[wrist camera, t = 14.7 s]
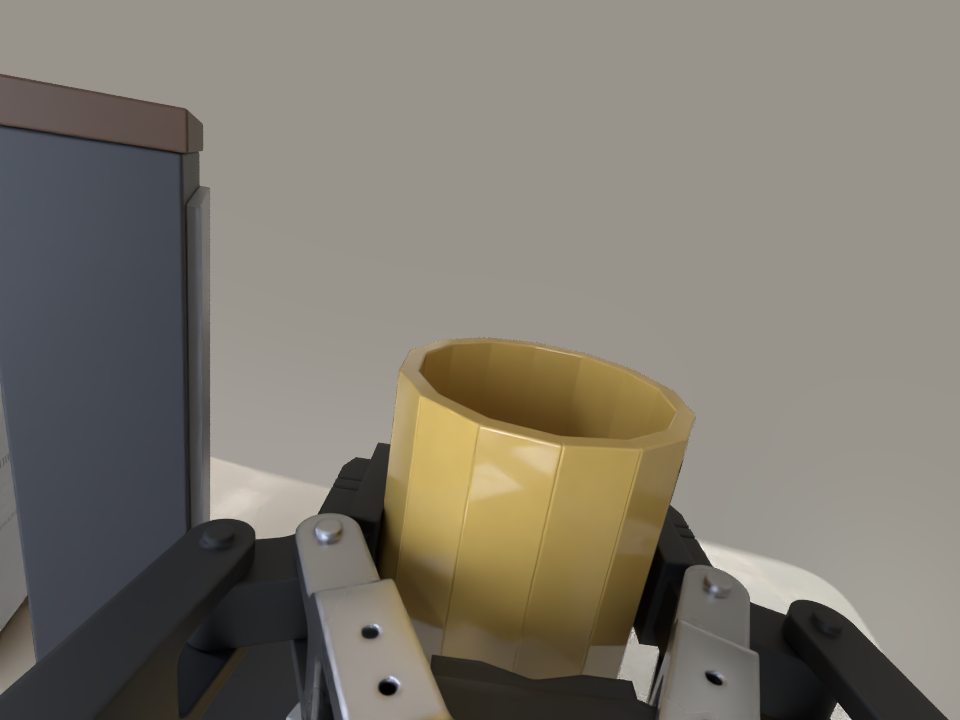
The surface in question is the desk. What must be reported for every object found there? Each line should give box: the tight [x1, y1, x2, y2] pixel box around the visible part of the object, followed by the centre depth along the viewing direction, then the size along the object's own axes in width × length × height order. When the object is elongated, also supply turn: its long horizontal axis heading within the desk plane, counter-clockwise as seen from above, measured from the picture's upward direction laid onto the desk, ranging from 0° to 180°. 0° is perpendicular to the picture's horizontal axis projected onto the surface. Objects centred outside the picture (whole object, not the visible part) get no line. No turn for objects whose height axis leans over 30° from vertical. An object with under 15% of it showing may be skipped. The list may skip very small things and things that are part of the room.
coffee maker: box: [0, 74, 301, 720], centre depth 14 cm, size 15×15×16 cm
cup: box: [377, 338, 696, 679], centre depth 13 cm, size 6×6×10 cm
